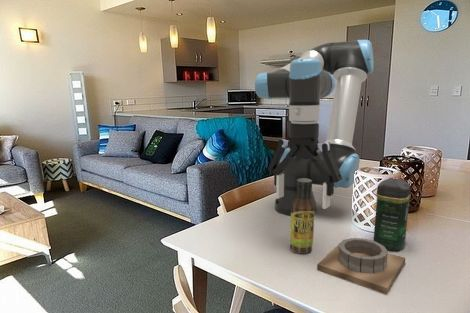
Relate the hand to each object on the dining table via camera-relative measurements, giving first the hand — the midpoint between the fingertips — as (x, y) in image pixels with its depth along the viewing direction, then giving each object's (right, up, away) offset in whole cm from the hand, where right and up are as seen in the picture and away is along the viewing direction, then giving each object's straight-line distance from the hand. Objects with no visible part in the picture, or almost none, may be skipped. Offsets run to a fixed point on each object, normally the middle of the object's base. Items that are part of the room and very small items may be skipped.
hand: (301, 202), depth 86 cm
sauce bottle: (0, -14, +3) cm, 14 cm away
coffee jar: (+26, -13, +5) cm, 29 cm away
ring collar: (+13, -15, -6) cm, 21 cm away
